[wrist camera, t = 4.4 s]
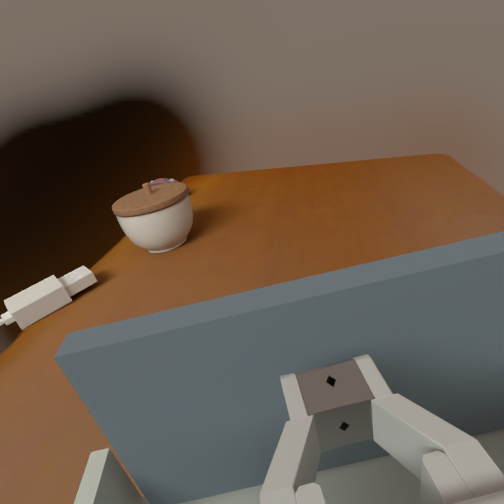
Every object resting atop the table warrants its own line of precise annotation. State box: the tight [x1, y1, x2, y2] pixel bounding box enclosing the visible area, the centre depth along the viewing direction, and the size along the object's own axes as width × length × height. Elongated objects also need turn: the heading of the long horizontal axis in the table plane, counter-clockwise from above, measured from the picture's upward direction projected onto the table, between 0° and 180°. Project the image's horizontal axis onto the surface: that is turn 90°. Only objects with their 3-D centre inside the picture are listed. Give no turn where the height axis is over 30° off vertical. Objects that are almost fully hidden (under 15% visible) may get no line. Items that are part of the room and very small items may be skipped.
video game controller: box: [150, 178, 190, 194], centre depth 83 cm, size 10×5×7 cm, turn 69°
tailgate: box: [54, 231, 504, 504], centre depth 17 cm, size 2×24×12 cm, turn 96°
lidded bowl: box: [112, 182, 193, 253], centre depth 57 cm, size 13×13×11 cm
